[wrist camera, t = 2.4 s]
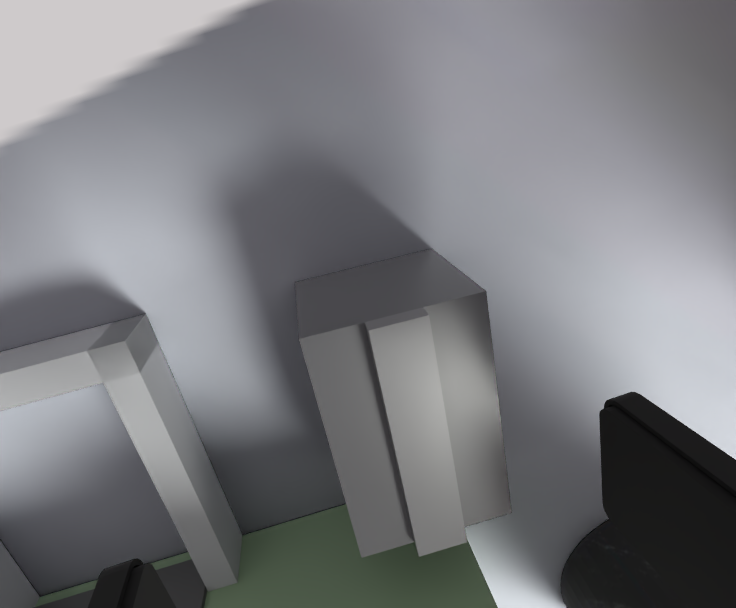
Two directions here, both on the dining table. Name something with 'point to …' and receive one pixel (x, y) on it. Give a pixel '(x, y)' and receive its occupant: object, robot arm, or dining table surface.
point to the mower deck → (219, 501)
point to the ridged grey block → (407, 399)
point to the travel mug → (613, 575)
